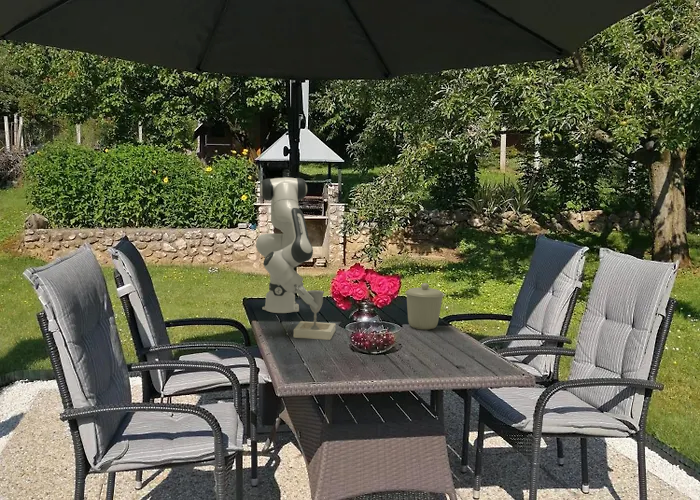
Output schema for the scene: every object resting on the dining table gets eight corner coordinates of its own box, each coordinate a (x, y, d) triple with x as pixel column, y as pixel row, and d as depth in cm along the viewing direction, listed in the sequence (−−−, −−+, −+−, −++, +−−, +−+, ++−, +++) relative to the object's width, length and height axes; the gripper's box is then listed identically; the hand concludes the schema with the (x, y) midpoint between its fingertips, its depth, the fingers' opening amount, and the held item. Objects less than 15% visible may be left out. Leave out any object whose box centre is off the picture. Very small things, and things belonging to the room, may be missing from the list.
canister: (400, 329, 316) (402, 284, 313) (406, 321, 333) (409, 278, 331) (439, 333, 312) (442, 287, 309) (444, 324, 329) (446, 281, 326)
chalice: (324, 330, 305) (325, 290, 303) (321, 334, 298) (323, 293, 296) (307, 329, 306) (308, 289, 304) (305, 333, 299) (306, 292, 297)
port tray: (300, 328, 311) (300, 321, 310) (335, 331, 309) (335, 323, 309) (293, 337, 295) (293, 329, 295) (330, 339, 293) (330, 331, 293)
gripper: (302, 282, 287) (324, 304, 291) (294, 274, 307) (315, 295, 310) (291, 292, 287) (313, 315, 290) (284, 284, 306) (305, 305, 310)
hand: (314, 305), depth 300 cm, fingers open, 8 cm apart
